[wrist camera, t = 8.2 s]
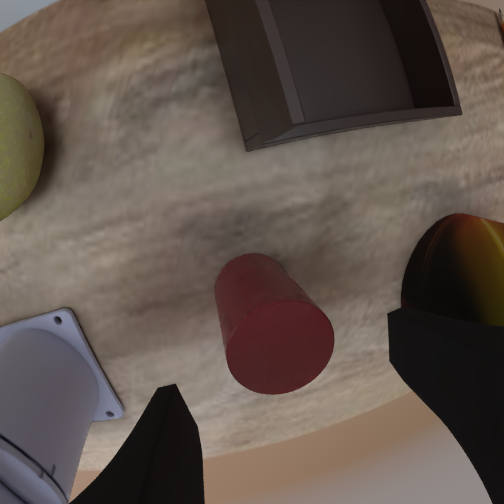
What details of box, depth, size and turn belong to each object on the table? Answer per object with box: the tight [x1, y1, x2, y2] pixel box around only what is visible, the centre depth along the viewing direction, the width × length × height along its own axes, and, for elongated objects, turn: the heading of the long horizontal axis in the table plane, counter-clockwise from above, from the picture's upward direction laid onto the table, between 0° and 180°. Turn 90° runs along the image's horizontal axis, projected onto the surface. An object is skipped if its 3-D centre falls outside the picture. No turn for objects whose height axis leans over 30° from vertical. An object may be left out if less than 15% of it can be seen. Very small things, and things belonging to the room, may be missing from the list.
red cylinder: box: [215, 253, 334, 395], centre depth 14 cm, size 4×4×6 cm
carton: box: [205, 0, 462, 152], centre depth 13 cm, size 11×11×4 cm
